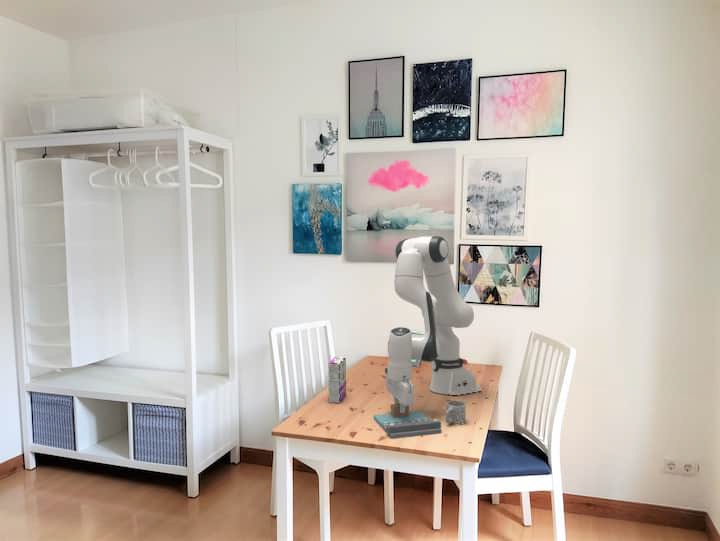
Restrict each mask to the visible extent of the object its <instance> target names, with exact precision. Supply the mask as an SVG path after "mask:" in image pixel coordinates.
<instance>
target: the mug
mask: <svg viewBox="0 0 720 541" xmlns="http://www.w3.org/2000/svg"><path fill="white" fill-rule="evenodd" d="M464 422H465V423H466V403H465V402H464V401H461V400H449V401H447V402H446V411H445V423H447V424H450V423H451V424H450V425H455V424H460V425H463V424H462V423H464ZM465 423H464V424H465Z"/></svg>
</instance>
